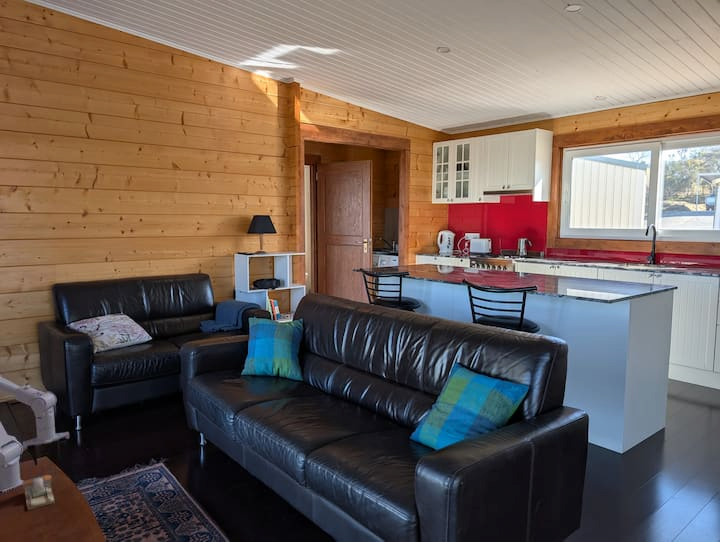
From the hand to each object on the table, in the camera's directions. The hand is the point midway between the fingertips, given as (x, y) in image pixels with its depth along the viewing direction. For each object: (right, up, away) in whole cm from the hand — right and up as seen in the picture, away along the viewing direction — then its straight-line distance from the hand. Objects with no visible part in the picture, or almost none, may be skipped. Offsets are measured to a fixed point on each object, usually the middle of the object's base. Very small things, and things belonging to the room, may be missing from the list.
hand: (48, 461), depth 194 cm
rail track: (0, -11, -5) cm, 12 cm away
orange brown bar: (-3, -8, -2) cm, 8 cm away
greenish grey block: (0, -10, -5) cm, 11 cm away
